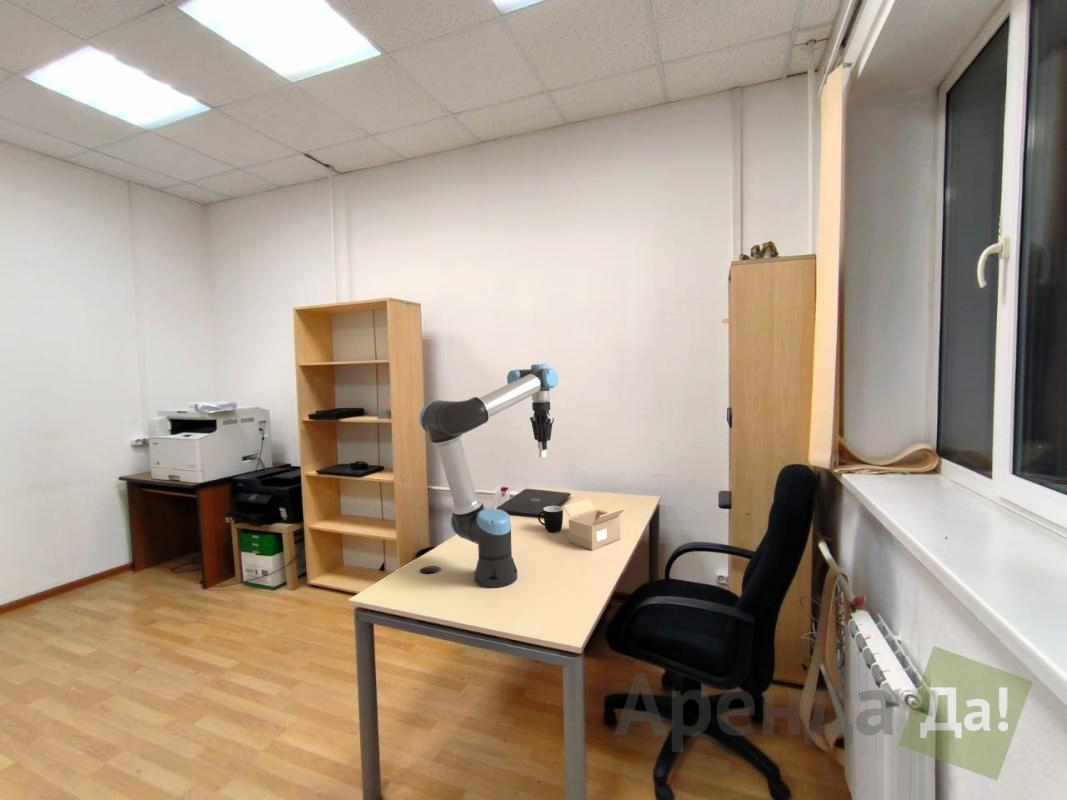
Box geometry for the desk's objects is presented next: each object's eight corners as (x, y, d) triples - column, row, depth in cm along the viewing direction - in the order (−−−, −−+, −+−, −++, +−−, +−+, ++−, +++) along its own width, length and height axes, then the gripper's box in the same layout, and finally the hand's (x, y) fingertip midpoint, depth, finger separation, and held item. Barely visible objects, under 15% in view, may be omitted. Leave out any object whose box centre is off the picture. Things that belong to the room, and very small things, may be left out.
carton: (591, 551, 186) (590, 526, 185) (568, 542, 196) (567, 519, 195) (621, 539, 198) (620, 515, 197) (598, 531, 208) (597, 509, 207)
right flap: (592, 523, 186) (593, 524, 186) (599, 516, 183) (600, 516, 183) (618, 514, 197) (618, 515, 196) (625, 507, 193) (625, 508, 193)
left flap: (564, 505, 199) (563, 506, 199) (570, 517, 196) (570, 517, 196) (589, 498, 209) (589, 498, 209) (595, 508, 206) (595, 509, 206)
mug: (566, 528, 214) (565, 506, 213) (559, 535, 206) (558, 512, 205) (542, 525, 219) (541, 504, 218) (534, 531, 211) (533, 509, 210)
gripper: (558, 401, 192) (560, 457, 194) (537, 400, 202) (539, 454, 203) (544, 402, 187) (546, 460, 189) (524, 401, 197) (526, 456, 199)
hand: (542, 456), depth 196 cm, fingers closed
